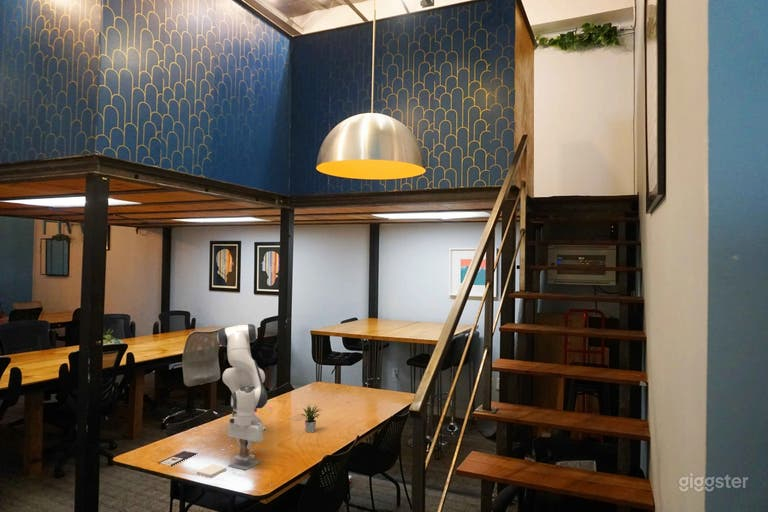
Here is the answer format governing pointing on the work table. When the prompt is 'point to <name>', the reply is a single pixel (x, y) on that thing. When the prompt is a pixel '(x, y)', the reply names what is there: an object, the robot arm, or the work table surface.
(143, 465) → the work table surface
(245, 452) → the wood block on plate
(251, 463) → the slate mat
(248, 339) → the robot arm
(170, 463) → the chocolate bar
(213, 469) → the tile
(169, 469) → the work table surface
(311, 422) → the house plant
